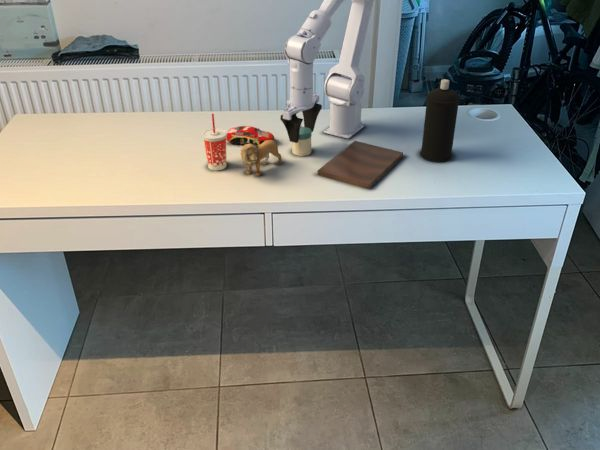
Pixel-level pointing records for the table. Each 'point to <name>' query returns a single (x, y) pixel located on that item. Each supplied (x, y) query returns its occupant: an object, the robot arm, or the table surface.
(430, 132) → the aerosol can
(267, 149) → the lion figurine
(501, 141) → the table surface
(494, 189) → the table surface
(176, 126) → the table surface
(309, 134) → the cream jar
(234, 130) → the race car
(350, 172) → the walnut board
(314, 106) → the robot arm
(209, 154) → the beverage cup
